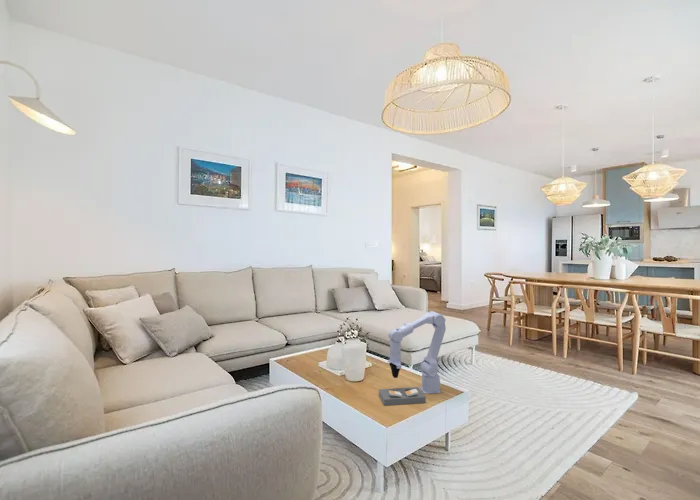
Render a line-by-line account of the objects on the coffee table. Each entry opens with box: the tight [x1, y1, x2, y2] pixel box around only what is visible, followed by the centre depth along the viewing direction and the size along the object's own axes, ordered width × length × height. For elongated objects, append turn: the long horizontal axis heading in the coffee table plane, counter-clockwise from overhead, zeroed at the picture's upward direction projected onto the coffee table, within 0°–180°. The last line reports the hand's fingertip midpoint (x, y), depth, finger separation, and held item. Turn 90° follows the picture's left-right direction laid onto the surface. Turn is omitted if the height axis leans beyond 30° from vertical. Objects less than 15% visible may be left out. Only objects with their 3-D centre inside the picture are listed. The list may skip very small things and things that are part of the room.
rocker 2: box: [405, 389, 418, 397], centre depth 177 cm, size 6×4×1 cm, turn 98°
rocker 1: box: [389, 390, 402, 397], centre depth 176 cm, size 6×4×1 cm, turn 99°
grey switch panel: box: [378, 386, 427, 406], centre depth 180 cm, size 22×12×3 cm, turn 98°
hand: (395, 376), depth 185 cm, fingers closed
